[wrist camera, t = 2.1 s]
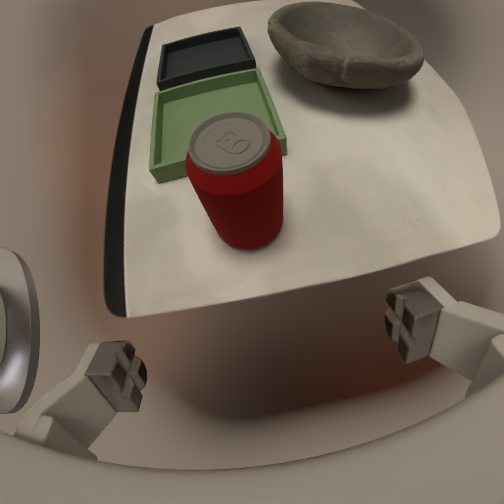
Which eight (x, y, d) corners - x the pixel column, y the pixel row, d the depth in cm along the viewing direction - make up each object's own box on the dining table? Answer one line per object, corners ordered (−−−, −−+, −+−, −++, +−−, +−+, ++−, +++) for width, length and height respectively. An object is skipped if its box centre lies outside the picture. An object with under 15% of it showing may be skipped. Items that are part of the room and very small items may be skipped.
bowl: (428, 131, 30) (453, 78, 21) (268, 114, 33) (262, 50, 24) (390, 51, 38) (398, 11, 28) (274, 40, 41) (270, -4, 31)
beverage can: (245, 181, 30) (225, 95, 18) (296, 214, 28) (302, 128, 16) (202, 227, 28) (157, 152, 17) (254, 266, 26) (233, 200, 15)
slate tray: (161, 95, 37) (156, 83, 35) (166, 55, 43) (162, 45, 40) (256, 73, 37) (255, 59, 34) (242, 37, 42) (240, 26, 40)
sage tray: (158, 183, 31) (149, 170, 28) (161, 105, 36) (155, 92, 34) (286, 154, 30) (286, 138, 28) (260, 82, 36) (258, 67, 33)
